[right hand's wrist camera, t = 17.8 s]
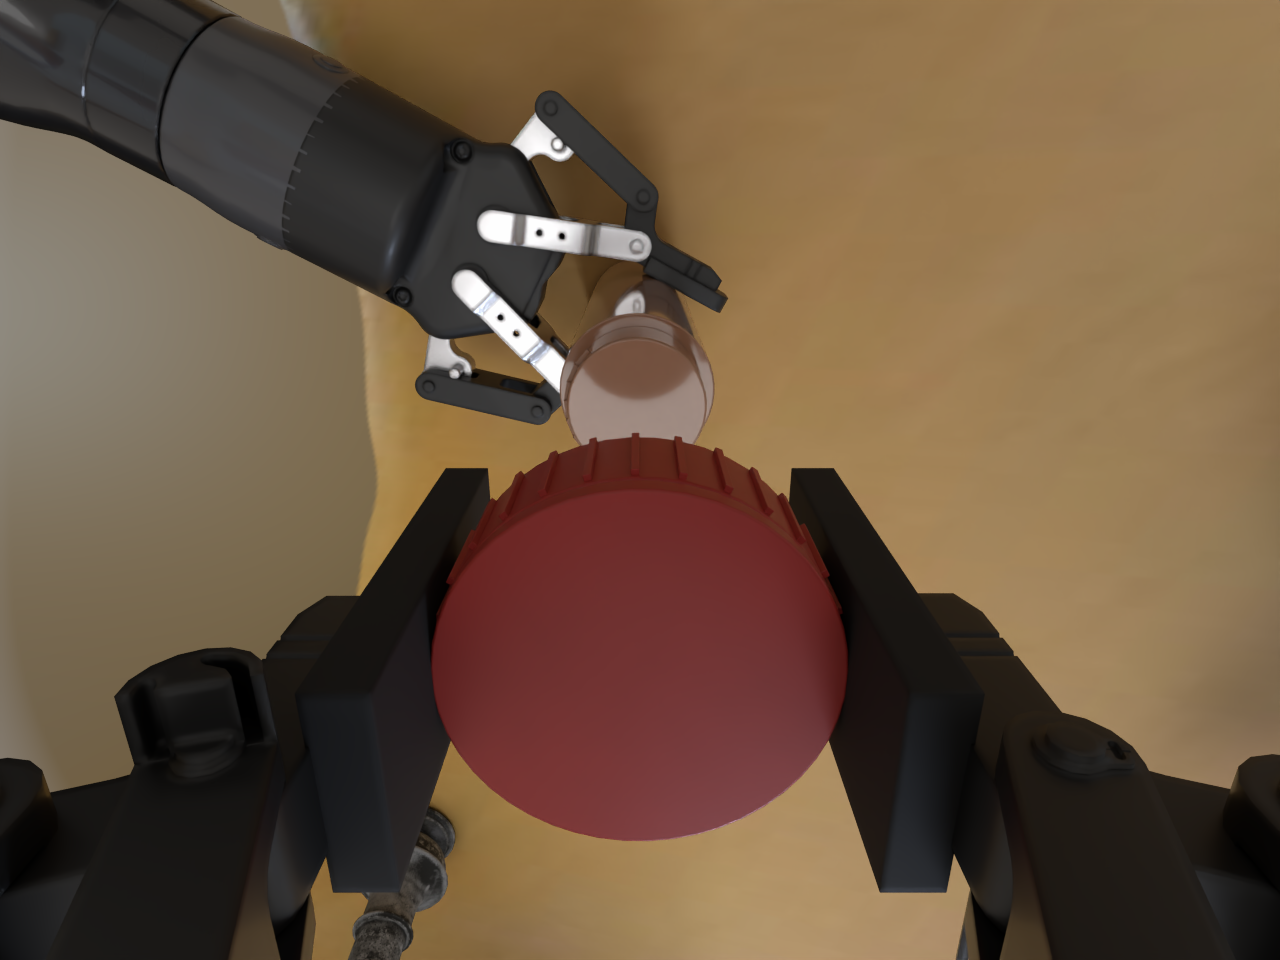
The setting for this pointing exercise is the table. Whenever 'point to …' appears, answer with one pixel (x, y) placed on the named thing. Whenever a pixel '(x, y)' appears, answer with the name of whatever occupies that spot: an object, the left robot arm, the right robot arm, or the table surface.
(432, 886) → the dark grey tiered figure
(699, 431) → the jar
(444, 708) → the lid
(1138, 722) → the table surface
